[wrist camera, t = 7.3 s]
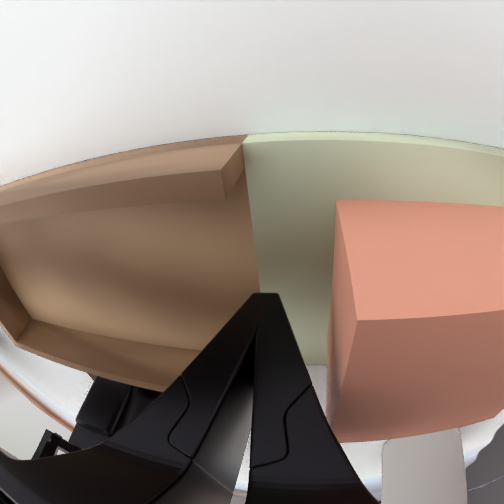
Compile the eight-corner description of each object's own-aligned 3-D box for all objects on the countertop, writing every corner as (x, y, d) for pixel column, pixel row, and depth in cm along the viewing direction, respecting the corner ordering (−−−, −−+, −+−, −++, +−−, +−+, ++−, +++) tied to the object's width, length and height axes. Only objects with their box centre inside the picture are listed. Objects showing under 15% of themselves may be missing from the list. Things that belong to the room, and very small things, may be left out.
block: (467, 332, 9) (493, 417, 6) (326, 340, 10) (324, 442, 7) (516, 208, 6) (589, 295, 3) (335, 200, 7) (357, 320, 4)
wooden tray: (443, 340, 11) (458, 395, 8) (39, 313, 15) (16, 346, 13) (504, 149, 6) (562, 189, 4) (-21, 194, 10) (-57, 222, 8)
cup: (455, 412, 15) (465, 517, 8) (462, 438, 19) (469, 512, 12) (370, 440, 18) (366, 538, 11) (399, 459, 22) (399, 530, 15)
